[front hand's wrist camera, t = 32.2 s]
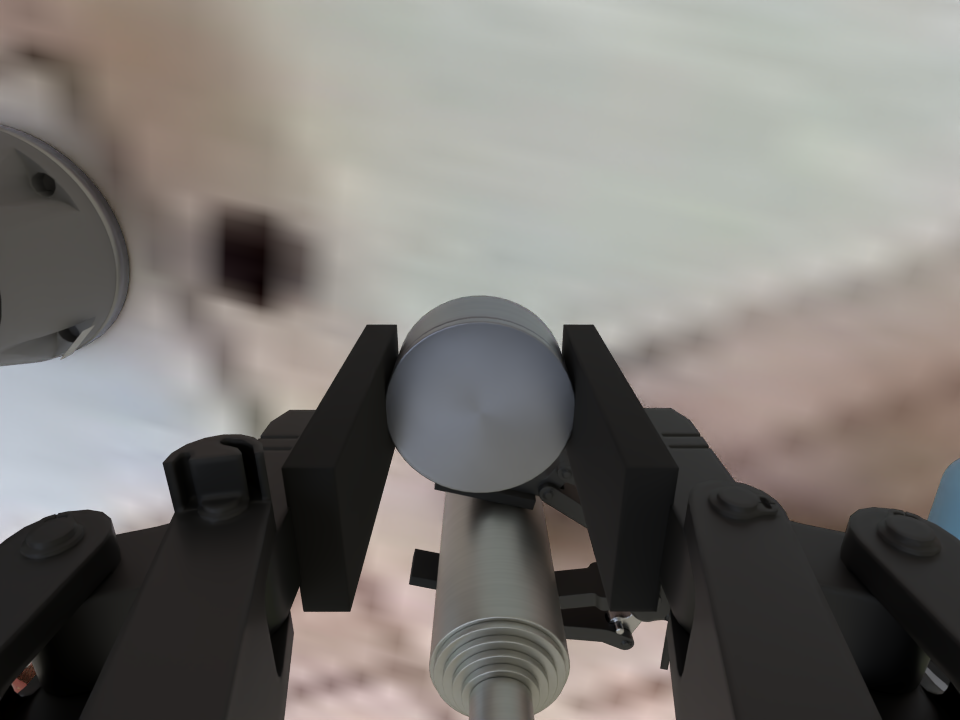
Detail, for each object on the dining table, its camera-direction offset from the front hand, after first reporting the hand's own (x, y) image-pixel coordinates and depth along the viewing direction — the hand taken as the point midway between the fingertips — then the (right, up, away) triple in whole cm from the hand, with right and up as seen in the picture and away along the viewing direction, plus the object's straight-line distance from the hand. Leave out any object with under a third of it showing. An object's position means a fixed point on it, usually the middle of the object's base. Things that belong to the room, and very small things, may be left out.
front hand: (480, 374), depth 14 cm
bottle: (+1, -9, +30) cm, 31 cm away
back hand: (-4, -11, +23) cm, 26 cm away
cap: (0, -1, -2) cm, 2 cm away
